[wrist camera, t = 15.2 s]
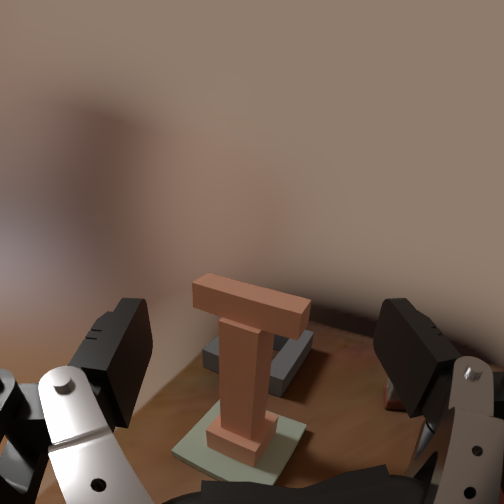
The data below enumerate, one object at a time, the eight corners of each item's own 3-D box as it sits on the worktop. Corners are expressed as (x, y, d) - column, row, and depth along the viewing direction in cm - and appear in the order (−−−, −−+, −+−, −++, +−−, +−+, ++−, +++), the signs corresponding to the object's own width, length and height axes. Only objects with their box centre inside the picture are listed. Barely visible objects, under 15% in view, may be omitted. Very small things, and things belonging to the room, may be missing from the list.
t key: (289, 437, 27) (317, 290, 21) (268, 473, 23) (292, 325, 17) (220, 410, 30) (218, 266, 24) (194, 440, 26) (178, 290, 20)
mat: (305, 430, 29) (306, 424, 29) (263, 500, 21) (264, 496, 20) (225, 399, 33) (224, 393, 33) (172, 455, 25) (171, 450, 25)
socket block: (310, 349, 43) (313, 332, 42) (280, 397, 34) (283, 380, 33) (244, 328, 48) (244, 311, 47) (203, 366, 39) (202, 349, 38)
